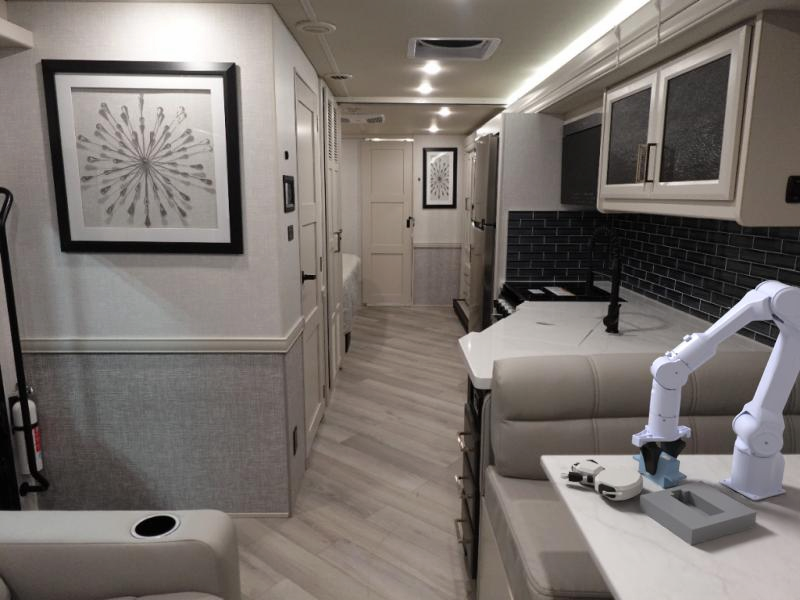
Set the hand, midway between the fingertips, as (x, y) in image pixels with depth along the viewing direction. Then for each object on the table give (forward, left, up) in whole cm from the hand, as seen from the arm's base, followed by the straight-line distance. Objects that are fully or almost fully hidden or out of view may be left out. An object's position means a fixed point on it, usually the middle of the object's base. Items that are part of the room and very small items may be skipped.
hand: (658, 471), depth 118 cm
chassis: (+5, +14, -2) cm, 15 cm away
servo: (0, 0, -2) cm, 2 cm away
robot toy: (+14, -1, -2) cm, 14 cm away
